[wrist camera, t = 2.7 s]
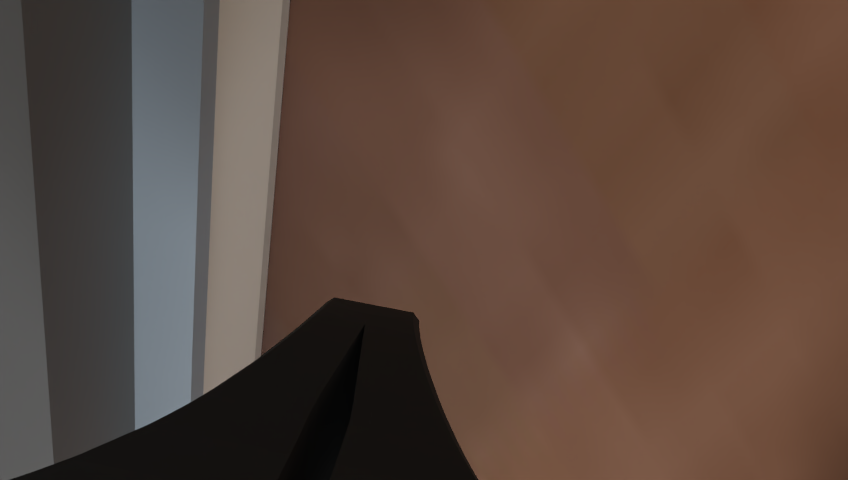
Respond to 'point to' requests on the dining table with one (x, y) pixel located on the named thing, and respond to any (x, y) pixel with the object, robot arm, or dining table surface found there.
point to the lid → (102, 219)
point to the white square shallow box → (243, 180)
